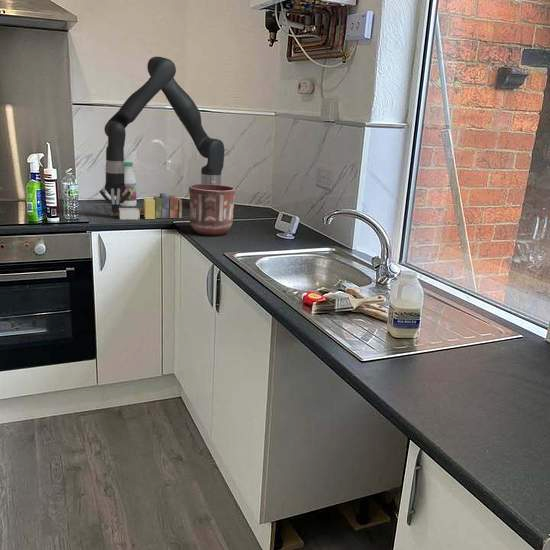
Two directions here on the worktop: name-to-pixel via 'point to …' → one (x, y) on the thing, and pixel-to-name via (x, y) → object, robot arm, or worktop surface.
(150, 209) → the butter yellow brick
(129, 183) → the milk bottle
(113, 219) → the worktop surface
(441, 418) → the worktop surface
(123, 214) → the off-white matte block
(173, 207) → the row of books
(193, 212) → the pottery
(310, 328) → the worktop surface
